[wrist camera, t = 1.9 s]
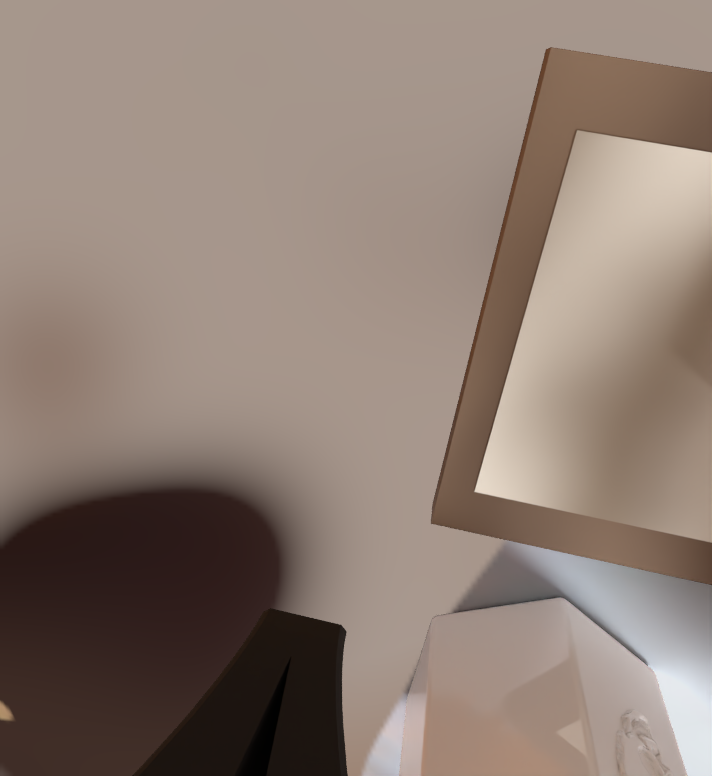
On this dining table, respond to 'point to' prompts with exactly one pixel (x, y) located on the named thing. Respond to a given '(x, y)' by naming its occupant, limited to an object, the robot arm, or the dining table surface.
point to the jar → (533, 699)
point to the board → (597, 328)
